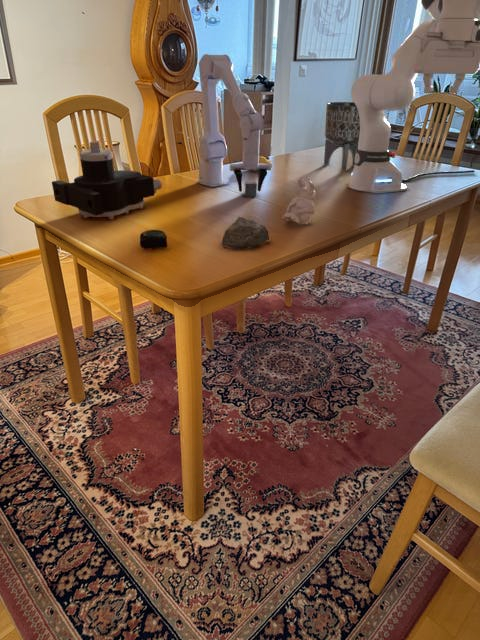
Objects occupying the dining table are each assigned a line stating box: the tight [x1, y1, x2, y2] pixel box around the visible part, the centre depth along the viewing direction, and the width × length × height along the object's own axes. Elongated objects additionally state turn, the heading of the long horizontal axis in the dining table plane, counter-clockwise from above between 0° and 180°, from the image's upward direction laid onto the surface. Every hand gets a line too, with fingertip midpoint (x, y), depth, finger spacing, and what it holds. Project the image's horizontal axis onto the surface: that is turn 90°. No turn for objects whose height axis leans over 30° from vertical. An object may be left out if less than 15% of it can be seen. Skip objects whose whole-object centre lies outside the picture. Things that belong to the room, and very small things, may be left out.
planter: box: [323, 101, 360, 172], centre depth 204 cm, size 20×20×26 cm
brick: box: [243, 180, 258, 198], centre depth 164 cm, size 4×4×5 cm
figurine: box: [281, 177, 316, 225], centre depth 135 cm, size 8×15×13 cm, turn 145°
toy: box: [256, 155, 273, 172], centre depth 200 cm, size 11×6×15 cm
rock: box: [221, 216, 270, 250], centre depth 119 cm, size 13×9×6 cm, turn 131°
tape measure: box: [139, 229, 168, 250], centre depth 117 cm, size 7×7×4 cm
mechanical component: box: [51, 141, 163, 220], centre depth 140 cm, size 22×21×30 cm
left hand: (249, 190), depth 164 cm, fingers open, 6 cm apart
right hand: (440, 93), depth 124 cm, fingers open, 8 cm apart
